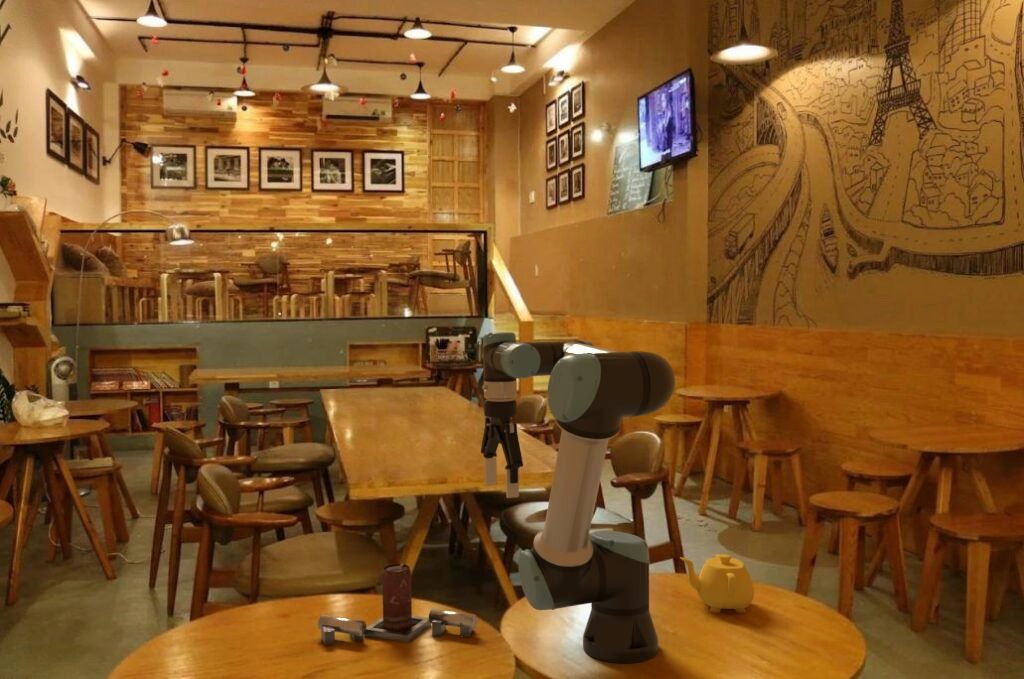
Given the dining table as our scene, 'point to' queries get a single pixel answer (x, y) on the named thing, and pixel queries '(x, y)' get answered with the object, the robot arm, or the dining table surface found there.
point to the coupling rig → (374, 630)
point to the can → (397, 598)
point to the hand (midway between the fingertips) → (501, 491)
